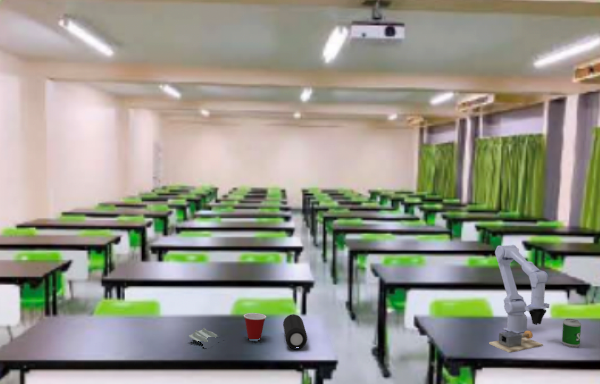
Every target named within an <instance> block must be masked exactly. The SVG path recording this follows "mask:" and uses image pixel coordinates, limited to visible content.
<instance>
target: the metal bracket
mask: <svg viewBox="0 0 600 384" xmlns="http://www.w3.org/2000/svg"><path fill="white" fill-rule="evenodd" d="M188 337H189V338H191V339H192V340H193V339H194V340H193V341H196V342H198V341H204V342H208V340H207V338H208V337H215V338H216V337H218V334H216V333H214V332H213V331H209V330H207V329H206V327H203V328H202V329H200V330H197V329H196V330H194V332H193V333H192V334H189V335H188Z"/></svg>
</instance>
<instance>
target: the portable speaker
mask: <svg viewBox="0 0 600 384" xmlns="http://www.w3.org/2000/svg"><path fill="white" fill-rule="evenodd" d="M304 324H305V323H304V321H303V319H302V317H301V316H299V314H298V315H297V314H295V313H293V314H289V315H287V316H286V317H285V318H284V319H283V323H282V325H283V331H284V337H285V343H286V344H287V346H288V347H289V348H290V347H291V349H292V348H296V347H299V348H300V349H302V348H304V346H306V343H307V342H308V335H307V332H306V328H305V325H304Z"/></svg>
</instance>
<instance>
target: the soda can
mask: <svg viewBox="0 0 600 384" xmlns="http://www.w3.org/2000/svg"><path fill="white" fill-rule="evenodd" d="M581 329H582V324H581V322H580V321H579V320H578V319H575V318H565V319H564V320H563V321H562V336H561V337H562V339H561V343H562V344H563V345H564V346H565V347H568V348H572V349H573V348H575V349H576V348H578V347H579V346H580V345H581Z"/></svg>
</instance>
